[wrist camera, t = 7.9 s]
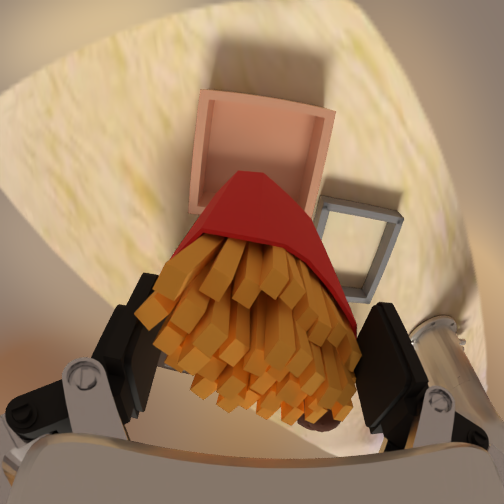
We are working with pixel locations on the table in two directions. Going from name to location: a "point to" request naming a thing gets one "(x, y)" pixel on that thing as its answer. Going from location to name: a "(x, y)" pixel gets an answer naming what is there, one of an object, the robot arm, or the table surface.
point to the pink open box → (258, 144)
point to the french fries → (257, 307)
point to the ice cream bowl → (319, 422)
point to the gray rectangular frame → (384, 249)
